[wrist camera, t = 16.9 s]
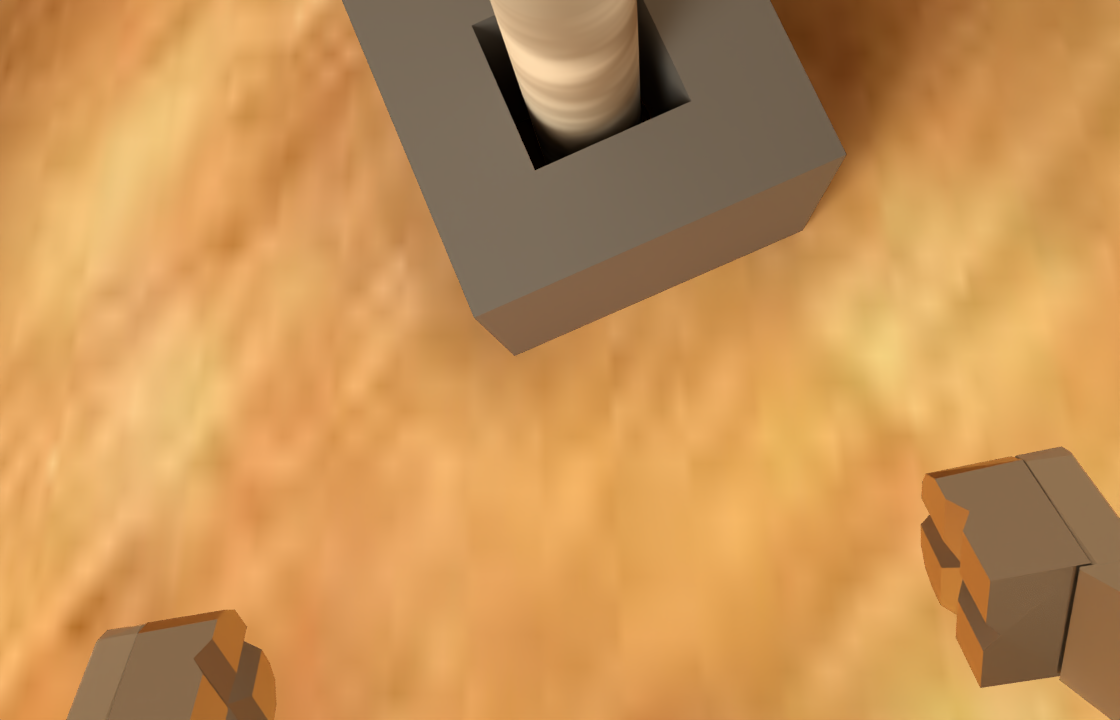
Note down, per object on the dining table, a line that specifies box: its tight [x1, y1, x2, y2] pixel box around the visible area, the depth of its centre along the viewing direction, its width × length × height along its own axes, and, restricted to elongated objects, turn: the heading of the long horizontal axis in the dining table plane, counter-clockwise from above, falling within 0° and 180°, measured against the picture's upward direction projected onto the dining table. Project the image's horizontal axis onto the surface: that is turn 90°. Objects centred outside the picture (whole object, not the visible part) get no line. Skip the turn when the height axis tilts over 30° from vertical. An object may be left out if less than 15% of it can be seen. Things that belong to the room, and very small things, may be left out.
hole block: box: [342, 0, 847, 356], centre depth 40 cm, size 14×14×10 cm
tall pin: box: [490, 0, 641, 165], centre depth 36 cm, size 4×4×18 cm
